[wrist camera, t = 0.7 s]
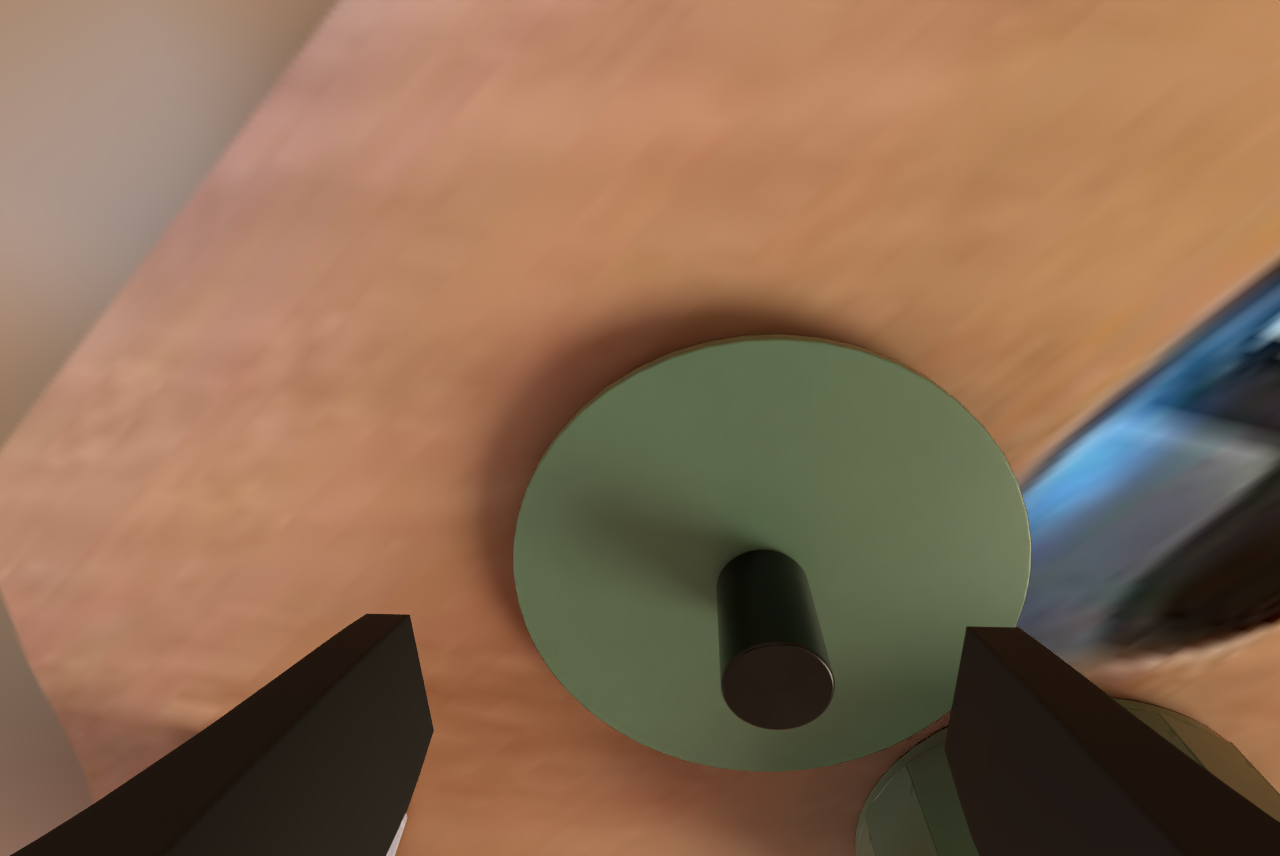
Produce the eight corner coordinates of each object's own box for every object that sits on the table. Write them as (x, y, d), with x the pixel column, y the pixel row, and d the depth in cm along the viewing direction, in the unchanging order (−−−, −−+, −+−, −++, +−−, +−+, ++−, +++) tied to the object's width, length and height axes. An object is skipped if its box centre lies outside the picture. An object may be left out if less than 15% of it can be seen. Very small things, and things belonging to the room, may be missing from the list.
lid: (959, 758, 20) (1032, 921, 16) (535, 727, 21) (492, 872, 17) (1070, 335, 15) (1222, 402, 11) (506, 320, 16) (435, 376, 12)
